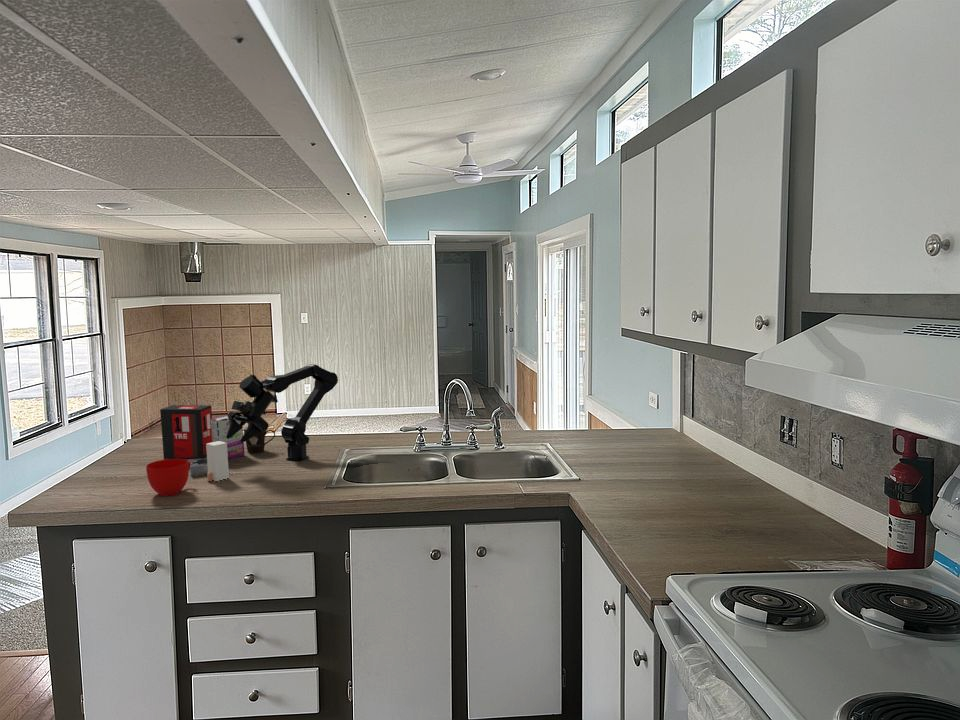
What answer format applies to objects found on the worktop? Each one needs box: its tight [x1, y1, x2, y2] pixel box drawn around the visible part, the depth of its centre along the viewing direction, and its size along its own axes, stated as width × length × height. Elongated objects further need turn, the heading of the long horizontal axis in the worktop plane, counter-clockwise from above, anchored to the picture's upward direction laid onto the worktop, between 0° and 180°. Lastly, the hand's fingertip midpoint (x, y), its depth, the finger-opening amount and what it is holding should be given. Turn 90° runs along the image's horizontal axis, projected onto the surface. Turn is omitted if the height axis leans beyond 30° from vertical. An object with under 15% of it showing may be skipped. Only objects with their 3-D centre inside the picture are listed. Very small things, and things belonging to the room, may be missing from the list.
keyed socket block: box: [187, 457, 208, 477], centre depth 259 cm, size 12×12×4 cm
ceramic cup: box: [145, 459, 190, 497], centre depth 234 cm, size 13×17×10 cm
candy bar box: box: [211, 415, 245, 460], centre depth 277 cm, size 11×5×16 cm, turn 143°
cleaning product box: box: [159, 404, 213, 460], centre depth 280 cm, size 16×9×20 cm, turn 84°
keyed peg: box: [206, 441, 230, 482], centre depth 247 cm, size 6×5×13 cm
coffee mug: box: [243, 426, 276, 454], centre depth 286 cm, size 12×9×10 cm
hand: (234, 439), depth 252 cm, fingers open, 9 cm apart
